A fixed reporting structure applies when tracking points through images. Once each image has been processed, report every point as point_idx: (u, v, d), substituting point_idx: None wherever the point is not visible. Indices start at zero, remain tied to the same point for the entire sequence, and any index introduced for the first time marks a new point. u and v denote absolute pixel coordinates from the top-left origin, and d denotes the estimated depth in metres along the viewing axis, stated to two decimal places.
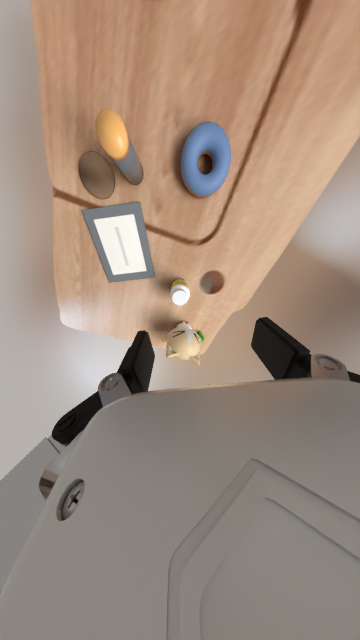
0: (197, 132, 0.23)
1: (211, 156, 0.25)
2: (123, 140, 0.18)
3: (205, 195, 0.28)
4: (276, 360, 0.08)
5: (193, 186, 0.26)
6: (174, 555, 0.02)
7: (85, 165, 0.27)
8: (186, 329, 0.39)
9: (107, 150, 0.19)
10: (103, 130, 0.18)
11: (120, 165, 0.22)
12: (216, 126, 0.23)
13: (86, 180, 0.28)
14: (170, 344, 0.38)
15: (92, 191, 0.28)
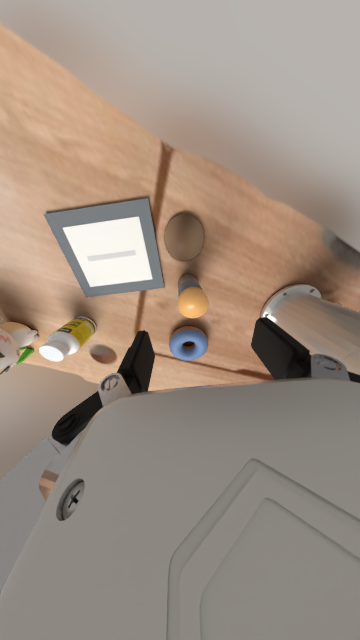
0: (202, 342, 0.30)
1: (192, 347, 0.34)
2: (188, 315, 0.18)
3: None
4: (276, 360, 0.08)
5: (173, 341, 0.30)
6: (174, 555, 0.02)
7: (193, 226, 0.21)
8: (11, 354, 0.26)
9: (181, 298, 0.17)
10: (195, 297, 0.17)
11: None
12: (204, 352, 0.32)
13: (180, 222, 0.21)
14: None
15: (170, 227, 0.21)
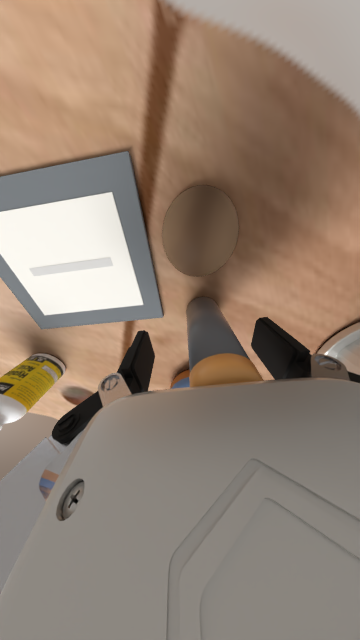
0: None
1: None
2: None
3: None
4: (276, 360, 0.08)
5: None
6: (174, 555, 0.02)
7: (219, 211, 0.11)
8: None
9: None
10: None
11: (189, 353, 0.09)
12: None
13: (194, 203, 0.11)
14: None
15: (173, 214, 0.11)
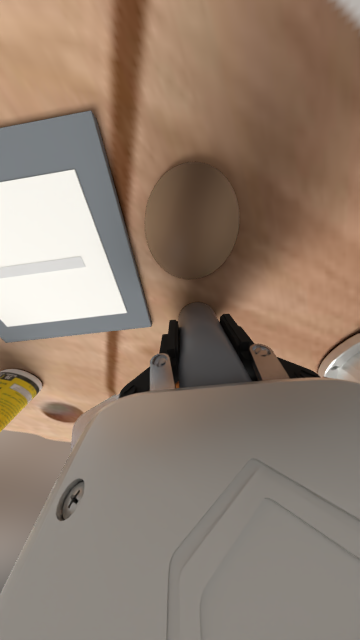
0: None
1: None
2: None
3: None
4: None
5: None
6: (174, 555, 0.02)
7: (215, 198, 0.09)
8: None
9: None
10: None
11: (180, 383, 0.07)
12: None
13: (183, 186, 0.08)
14: None
15: (157, 200, 0.09)
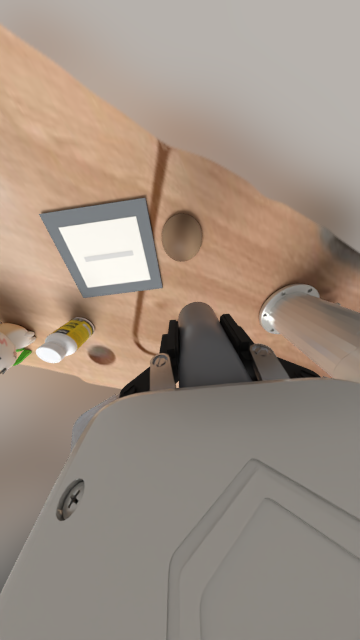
0: None
1: None
2: None
3: None
4: None
5: None
6: (174, 555, 0.02)
7: (191, 226, 0.21)
8: (7, 356, 0.25)
9: None
10: None
11: (180, 383, 0.07)
12: None
13: (178, 222, 0.21)
14: None
15: (167, 227, 0.21)
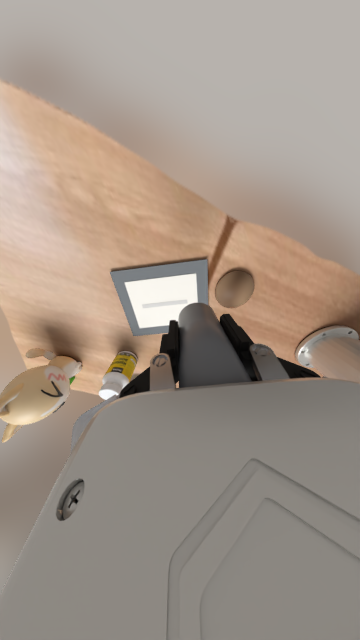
0: None
1: None
2: None
3: None
4: None
5: None
6: (174, 555, 0.02)
7: (245, 280, 0.23)
8: (66, 391, 0.28)
9: None
10: None
11: (179, 384, 0.07)
12: None
13: (233, 277, 0.23)
14: (22, 394, 0.22)
15: (223, 281, 0.23)
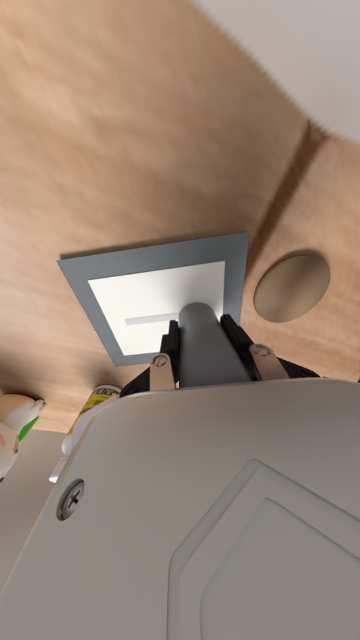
0: None
1: None
2: None
3: None
4: None
5: None
6: (174, 555, 0.02)
7: (315, 274, 0.12)
8: (5, 461, 0.17)
9: None
10: None
11: (180, 383, 0.07)
12: None
13: (295, 268, 0.12)
14: None
15: (274, 276, 0.12)
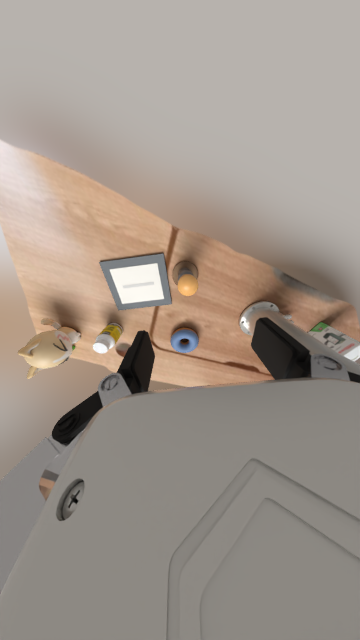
0: (194, 339, 0.43)
1: (187, 342, 0.46)
2: (184, 293, 0.26)
3: None
4: (276, 360, 0.08)
5: (173, 338, 0.43)
6: (174, 555, 0.02)
7: (191, 268, 0.34)
8: (70, 349, 0.39)
9: (179, 281, 0.25)
10: (189, 280, 0.25)
11: (178, 280, 0.28)
12: (195, 346, 0.45)
13: (182, 266, 0.34)
14: (40, 344, 0.33)
15: (176, 268, 0.34)
